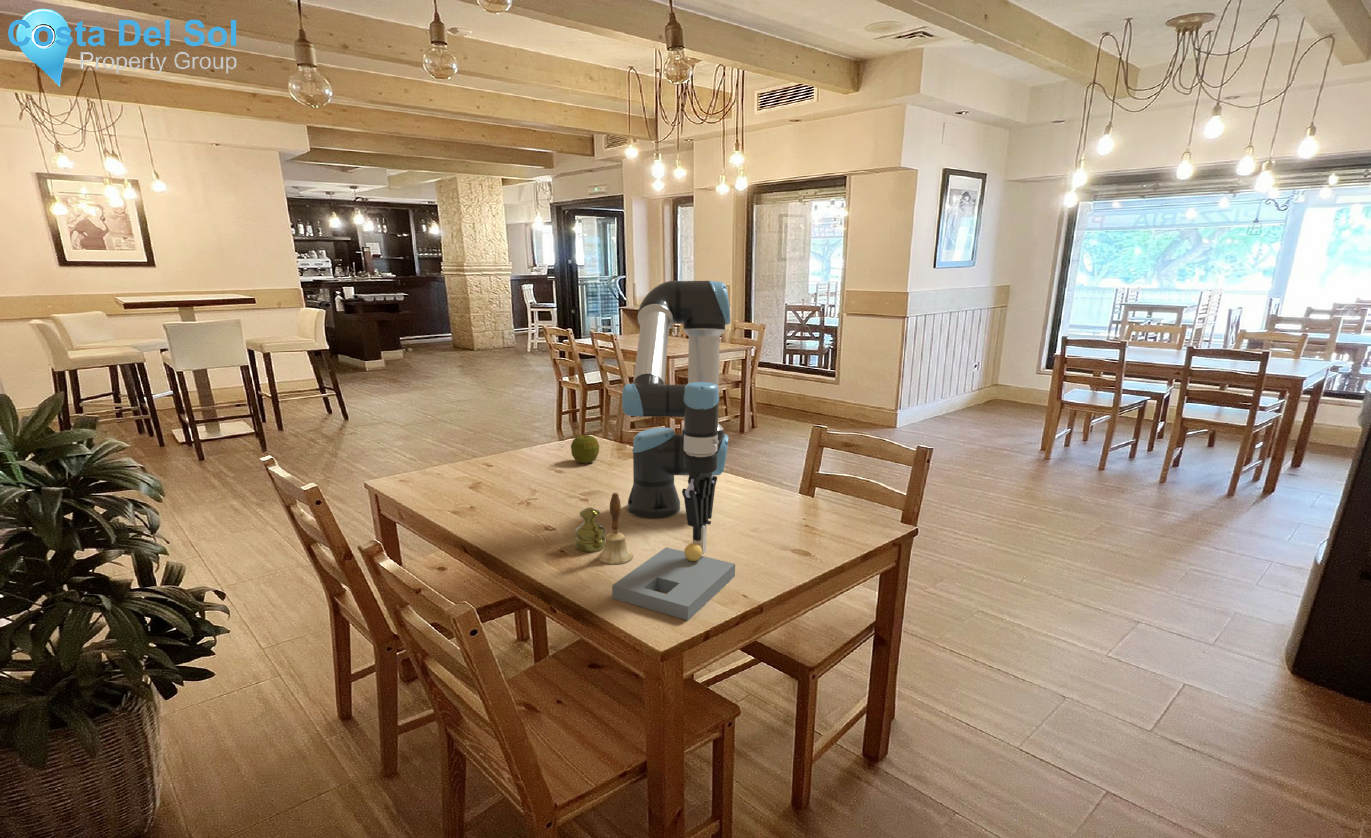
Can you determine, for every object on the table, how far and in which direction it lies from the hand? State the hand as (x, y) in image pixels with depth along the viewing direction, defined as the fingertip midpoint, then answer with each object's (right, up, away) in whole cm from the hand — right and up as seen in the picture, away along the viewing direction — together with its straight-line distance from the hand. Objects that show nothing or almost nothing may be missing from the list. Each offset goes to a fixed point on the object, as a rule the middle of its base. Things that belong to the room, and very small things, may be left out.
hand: (699, 551), depth 148 cm
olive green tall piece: (-27, -1, +12) cm, 30 cm away
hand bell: (-20, -3, +6) cm, 21 cm away
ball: (-1, -2, -2) cm, 3 cm away
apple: (-39, +15, +84) cm, 93 cm away
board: (-5, -6, -8) cm, 11 cm away
